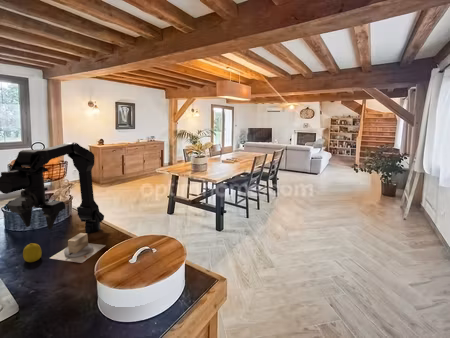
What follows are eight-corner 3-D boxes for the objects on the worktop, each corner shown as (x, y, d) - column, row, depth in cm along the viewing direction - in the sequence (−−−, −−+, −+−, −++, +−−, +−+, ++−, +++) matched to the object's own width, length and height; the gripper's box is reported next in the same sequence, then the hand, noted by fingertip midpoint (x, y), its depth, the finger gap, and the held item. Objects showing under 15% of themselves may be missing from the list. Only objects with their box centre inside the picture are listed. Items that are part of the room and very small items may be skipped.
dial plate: (76, 244, 111) (76, 241, 111) (106, 248, 109) (105, 245, 108) (49, 261, 98) (49, 257, 97) (82, 266, 95) (81, 262, 95)
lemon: (32, 268, 93) (30, 247, 92) (20, 265, 94) (17, 245, 93) (46, 260, 99) (44, 240, 97) (34, 258, 100) (31, 239, 98)
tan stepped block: (77, 243, 108) (76, 230, 107) (98, 246, 107) (97, 233, 106) (58, 255, 99) (56, 241, 98) (81, 258, 97) (79, 244, 96)
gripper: (-13, 189, 84) (-6, 234, 87) (36, 194, 81) (41, 240, 84) (20, 182, 95) (25, 222, 98) (64, 185, 91) (68, 227, 94)
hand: (38, 227), depth 93 cm, fingers open, 9 cm apart
